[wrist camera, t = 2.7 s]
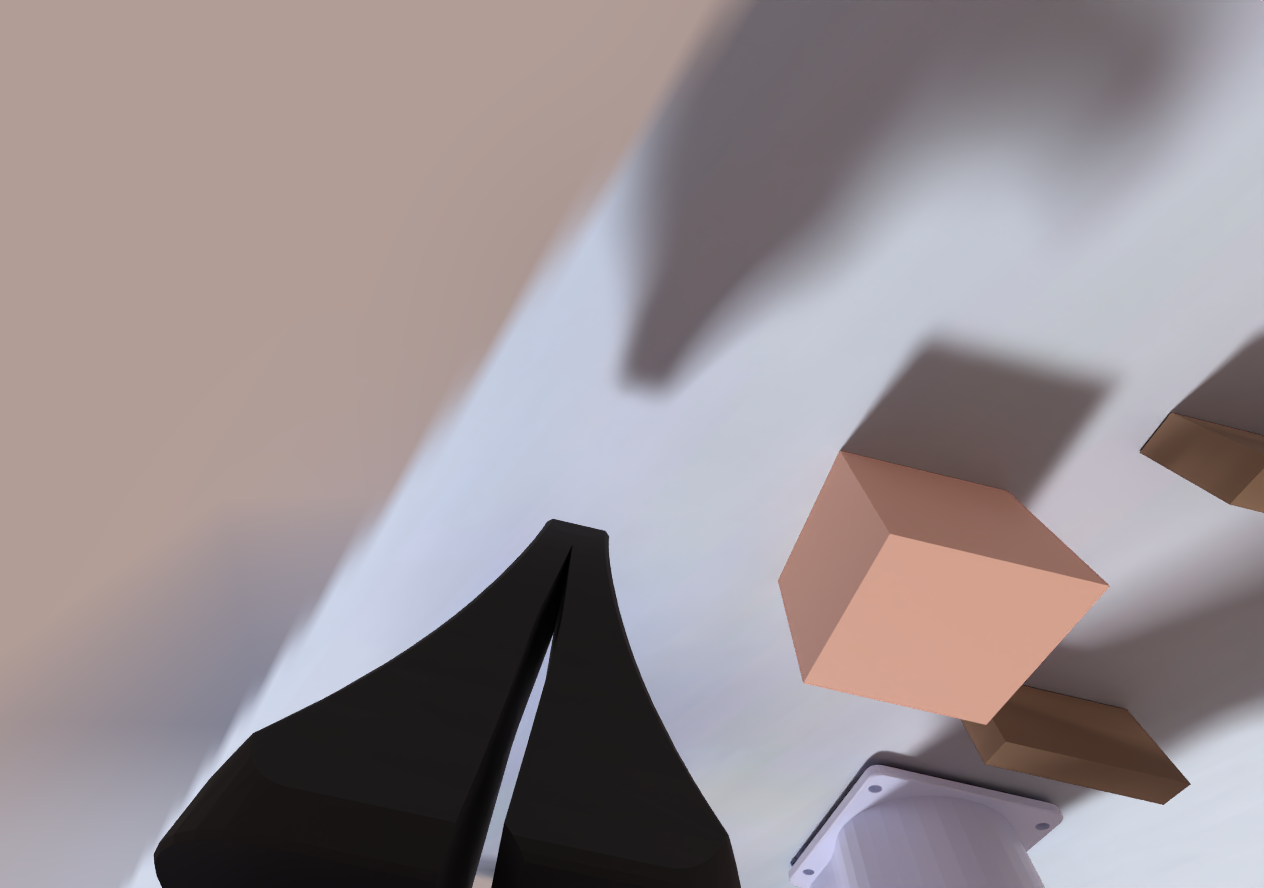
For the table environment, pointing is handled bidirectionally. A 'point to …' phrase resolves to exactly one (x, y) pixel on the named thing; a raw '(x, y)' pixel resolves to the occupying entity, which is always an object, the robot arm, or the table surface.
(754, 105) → the table surface
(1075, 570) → the terracotta block
